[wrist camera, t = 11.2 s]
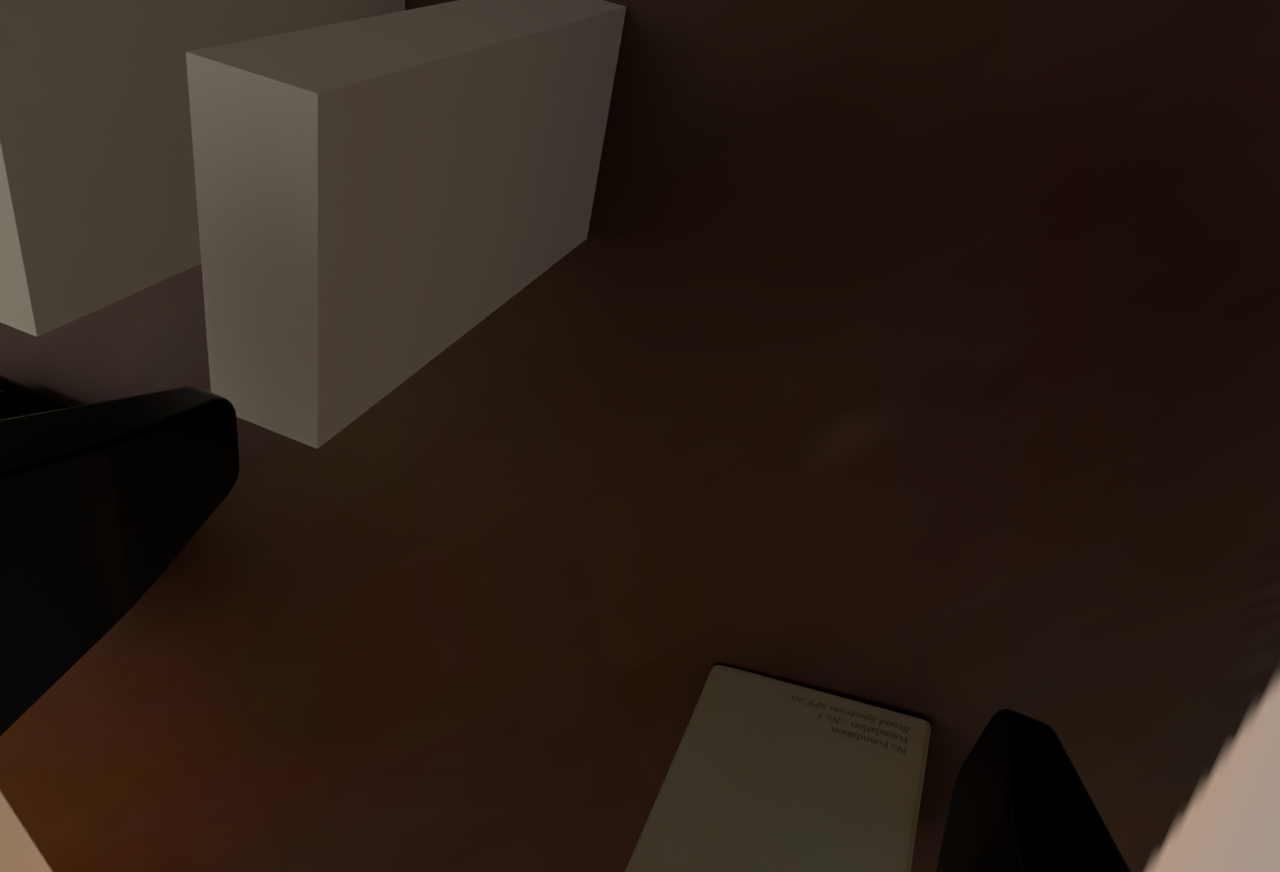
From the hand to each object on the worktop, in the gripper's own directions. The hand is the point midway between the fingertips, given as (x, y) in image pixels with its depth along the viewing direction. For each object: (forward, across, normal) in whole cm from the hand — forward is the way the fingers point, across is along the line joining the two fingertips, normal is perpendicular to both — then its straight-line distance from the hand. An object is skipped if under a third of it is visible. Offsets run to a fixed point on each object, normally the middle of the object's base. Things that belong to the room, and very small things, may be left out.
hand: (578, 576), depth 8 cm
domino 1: (+13, +11, 0) cm, 17 cm away
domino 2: (+13, +6, 0) cm, 14 cm away
